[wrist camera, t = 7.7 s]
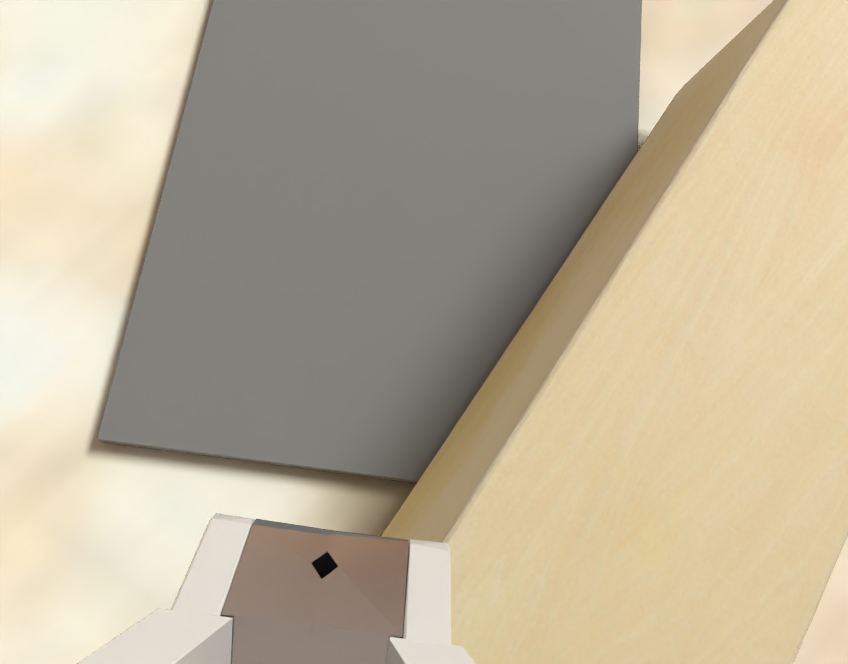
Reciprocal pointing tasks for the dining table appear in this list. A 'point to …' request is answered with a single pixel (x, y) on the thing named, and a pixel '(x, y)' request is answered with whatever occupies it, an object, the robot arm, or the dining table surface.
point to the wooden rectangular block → (673, 390)
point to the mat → (366, 221)
